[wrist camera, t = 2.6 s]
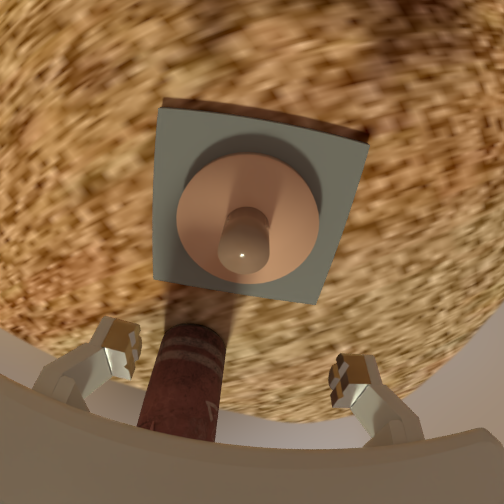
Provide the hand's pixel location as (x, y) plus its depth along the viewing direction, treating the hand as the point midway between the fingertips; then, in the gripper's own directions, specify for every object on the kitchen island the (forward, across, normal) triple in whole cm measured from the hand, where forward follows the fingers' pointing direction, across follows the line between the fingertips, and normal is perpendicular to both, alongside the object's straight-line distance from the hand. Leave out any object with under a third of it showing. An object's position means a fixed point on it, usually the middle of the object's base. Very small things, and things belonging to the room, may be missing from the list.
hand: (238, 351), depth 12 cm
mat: (+11, 0, -1) cm, 11 cm away
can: (+12, +3, +13) cm, 18 cm away
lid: (+10, 0, -1) cm, 10 cm away
